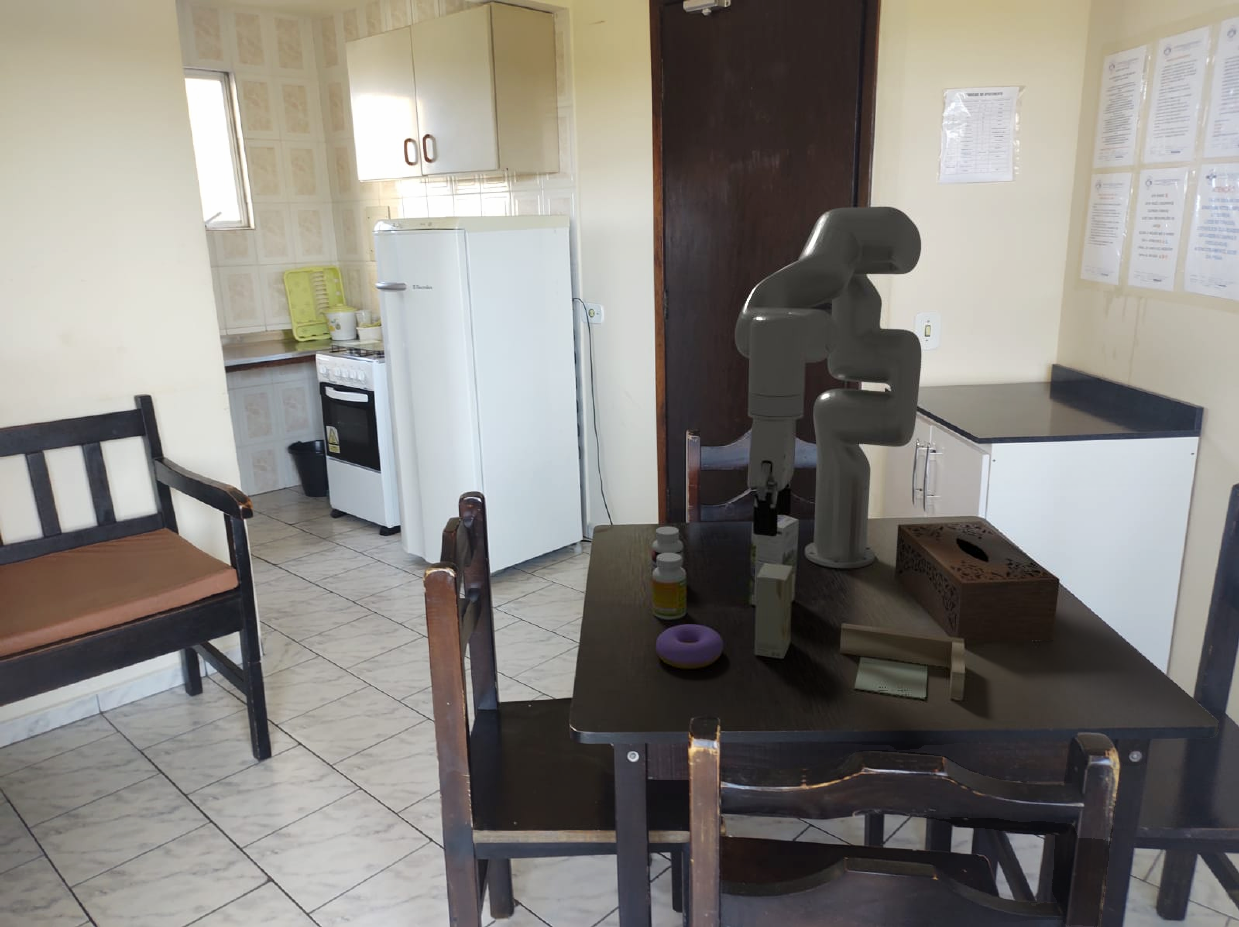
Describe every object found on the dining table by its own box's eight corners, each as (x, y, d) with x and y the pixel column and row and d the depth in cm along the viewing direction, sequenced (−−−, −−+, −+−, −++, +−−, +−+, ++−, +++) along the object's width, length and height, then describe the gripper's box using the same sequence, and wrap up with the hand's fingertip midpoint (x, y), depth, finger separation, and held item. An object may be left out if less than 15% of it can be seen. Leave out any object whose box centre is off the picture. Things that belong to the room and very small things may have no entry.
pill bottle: (646, 581, 154) (645, 529, 151) (669, 574, 157) (669, 522, 154) (665, 591, 150) (665, 537, 147) (689, 583, 153) (689, 530, 150)
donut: (685, 678, 120) (680, 644, 120) (645, 666, 128) (640, 634, 127) (739, 657, 126) (734, 624, 125) (697, 647, 133) (693, 616, 133)
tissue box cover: (1052, 642, 129) (1059, 579, 127) (956, 646, 129) (961, 583, 126) (975, 575, 154) (980, 521, 152) (894, 578, 154) (898, 524, 151)
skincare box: (783, 660, 125) (786, 581, 122) (753, 656, 127) (755, 577, 123) (791, 640, 131) (793, 564, 128) (762, 636, 132) (764, 561, 129)
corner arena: (841, 648, 128) (842, 623, 127) (961, 664, 123) (963, 638, 122) (831, 686, 118) (832, 659, 117) (962, 706, 112) (965, 678, 111)
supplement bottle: (683, 621, 138) (683, 564, 136) (650, 619, 139) (649, 562, 137) (688, 607, 143) (688, 551, 141) (655, 605, 144) (655, 550, 142)
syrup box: (764, 592, 148) (765, 511, 144) (796, 600, 145) (799, 517, 141) (748, 604, 144) (750, 521, 140) (781, 613, 140) (784, 527, 137)
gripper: (762, 393, 129) (759, 504, 133) (733, 415, 113) (731, 540, 118) (813, 396, 126) (809, 509, 131) (791, 418, 111) (787, 546, 115)
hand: (772, 524), depth 124 cm, fingers open, 9 cm apart
